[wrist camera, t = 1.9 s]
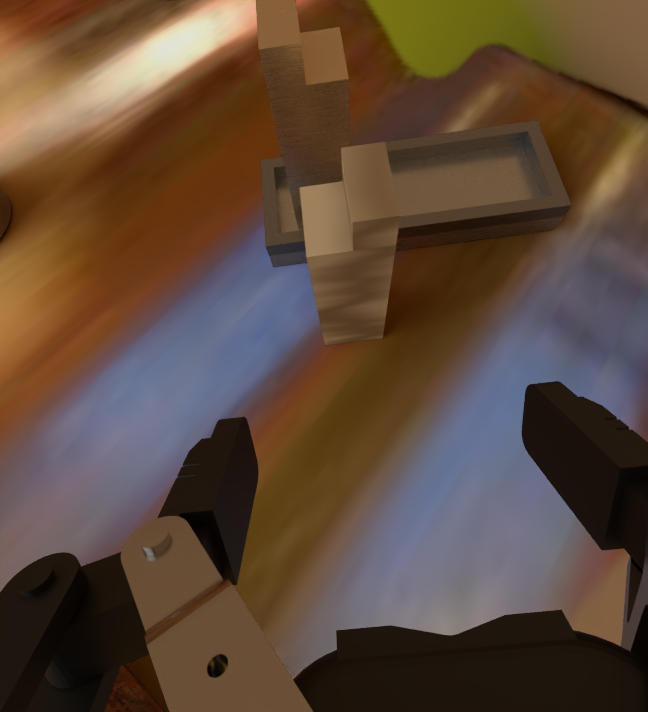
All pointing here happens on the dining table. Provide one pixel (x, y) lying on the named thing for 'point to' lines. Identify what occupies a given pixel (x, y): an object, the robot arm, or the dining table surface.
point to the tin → (130, 695)
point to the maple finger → (352, 244)
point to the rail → (391, 154)
